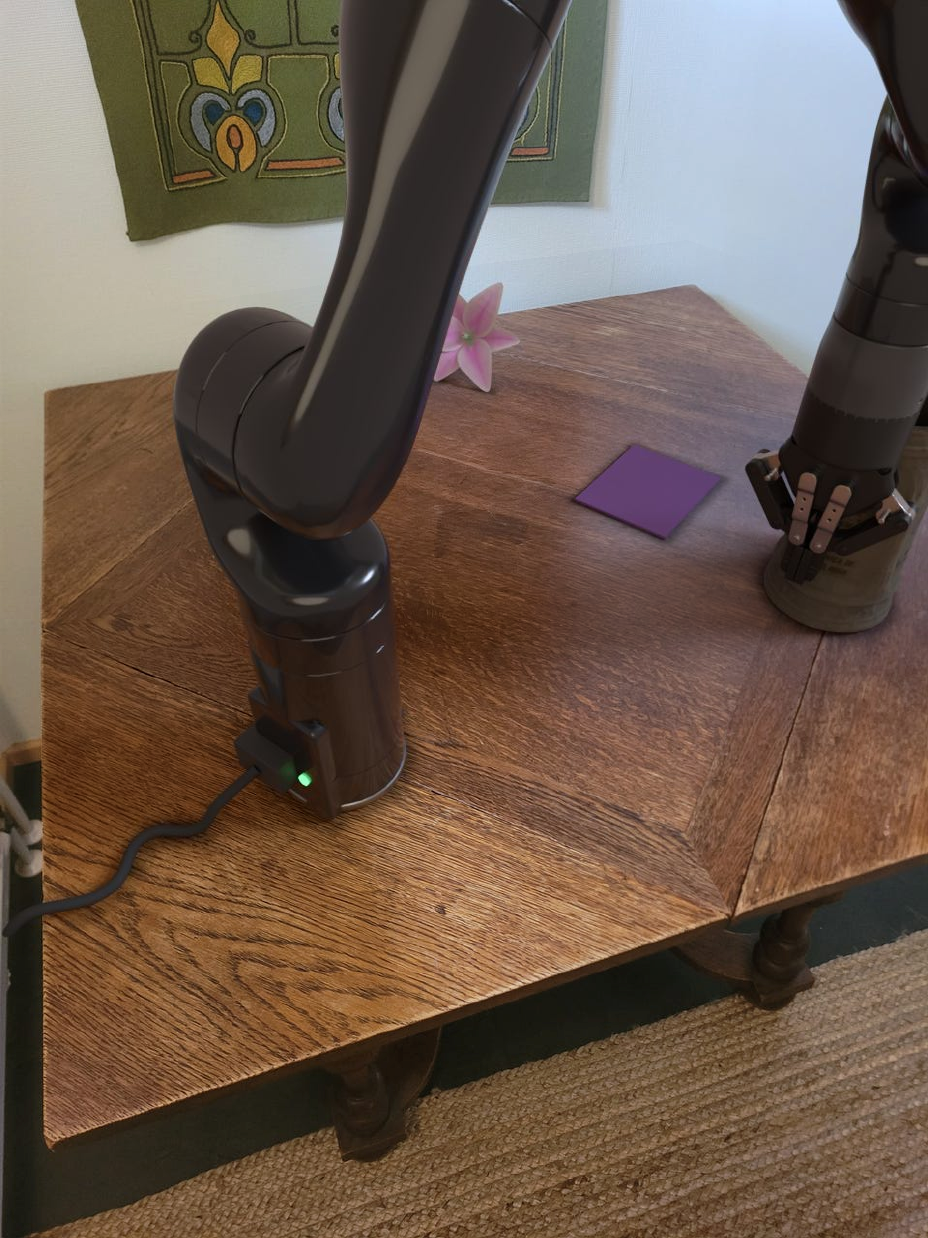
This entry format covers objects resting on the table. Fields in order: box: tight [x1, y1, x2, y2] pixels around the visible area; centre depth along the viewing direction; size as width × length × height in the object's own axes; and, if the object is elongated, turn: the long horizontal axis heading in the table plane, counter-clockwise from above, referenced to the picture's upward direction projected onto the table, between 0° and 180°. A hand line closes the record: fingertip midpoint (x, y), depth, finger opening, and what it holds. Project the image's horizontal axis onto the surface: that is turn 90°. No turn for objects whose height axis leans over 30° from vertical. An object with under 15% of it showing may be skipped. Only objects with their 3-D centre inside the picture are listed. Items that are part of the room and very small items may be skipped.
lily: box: [433, 282, 521, 393], centre depth 103 cm, size 12×12×10 cm
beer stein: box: [762, 397, 928, 633], centre depth 72 cm, size 15×11×20 cm
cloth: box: [574, 444, 721, 540], centre depth 88 cm, size 12×10×1 cm
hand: (797, 576), depth 71 cm, fingers closed
